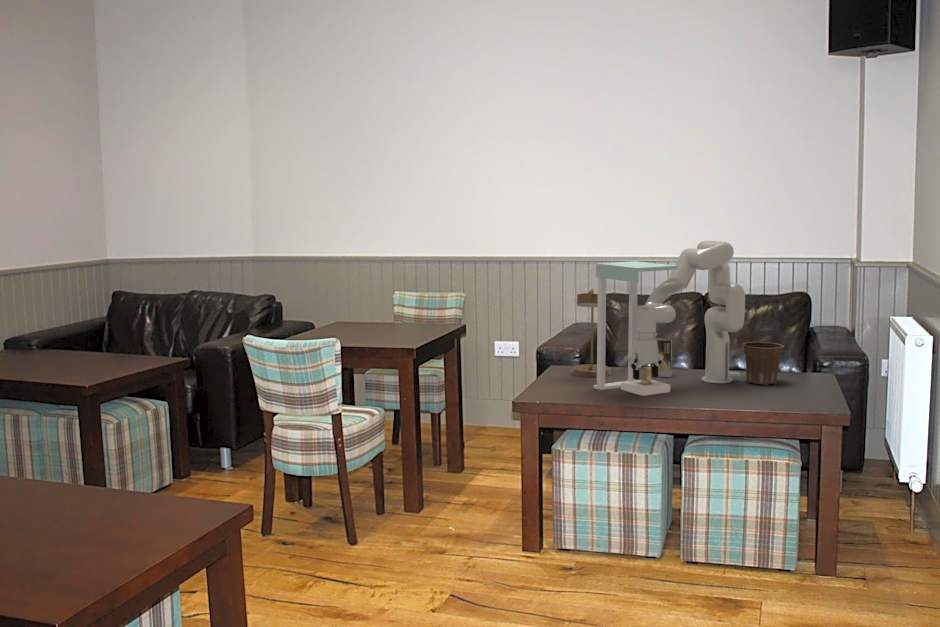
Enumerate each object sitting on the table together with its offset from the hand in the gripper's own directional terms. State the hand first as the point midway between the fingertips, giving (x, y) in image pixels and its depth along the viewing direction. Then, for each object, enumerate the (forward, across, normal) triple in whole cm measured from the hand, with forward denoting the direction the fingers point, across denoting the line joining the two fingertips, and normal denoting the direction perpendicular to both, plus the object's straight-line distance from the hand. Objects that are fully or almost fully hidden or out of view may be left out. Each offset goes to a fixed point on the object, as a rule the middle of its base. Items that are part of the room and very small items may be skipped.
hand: (645, 377), depth 393 cm
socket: (+5, 0, 0) cm, 5 cm away
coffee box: (+5, -26, -21) cm, 34 cm away
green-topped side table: (+5, +5, -2) cm, 7 cm away
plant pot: (+6, -52, +12) cm, 54 cm away
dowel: (+5, 0, 0) cm, 5 cm away
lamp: (+5, +1, -37) cm, 37 cm away
